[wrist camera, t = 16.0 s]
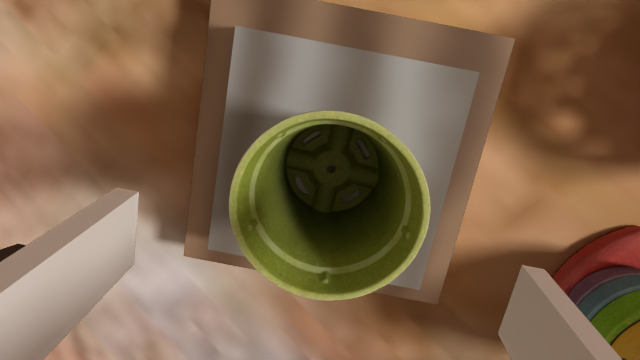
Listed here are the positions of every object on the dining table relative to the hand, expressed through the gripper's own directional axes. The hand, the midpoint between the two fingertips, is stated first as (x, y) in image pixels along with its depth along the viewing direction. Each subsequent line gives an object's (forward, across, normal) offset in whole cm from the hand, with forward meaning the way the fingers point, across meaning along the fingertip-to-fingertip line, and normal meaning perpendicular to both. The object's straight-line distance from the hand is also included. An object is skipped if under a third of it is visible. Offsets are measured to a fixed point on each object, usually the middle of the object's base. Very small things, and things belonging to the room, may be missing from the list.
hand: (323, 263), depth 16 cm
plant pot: (+15, 0, -1) cm, 15 cm away
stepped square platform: (+21, 0, -1) cm, 21 cm away
